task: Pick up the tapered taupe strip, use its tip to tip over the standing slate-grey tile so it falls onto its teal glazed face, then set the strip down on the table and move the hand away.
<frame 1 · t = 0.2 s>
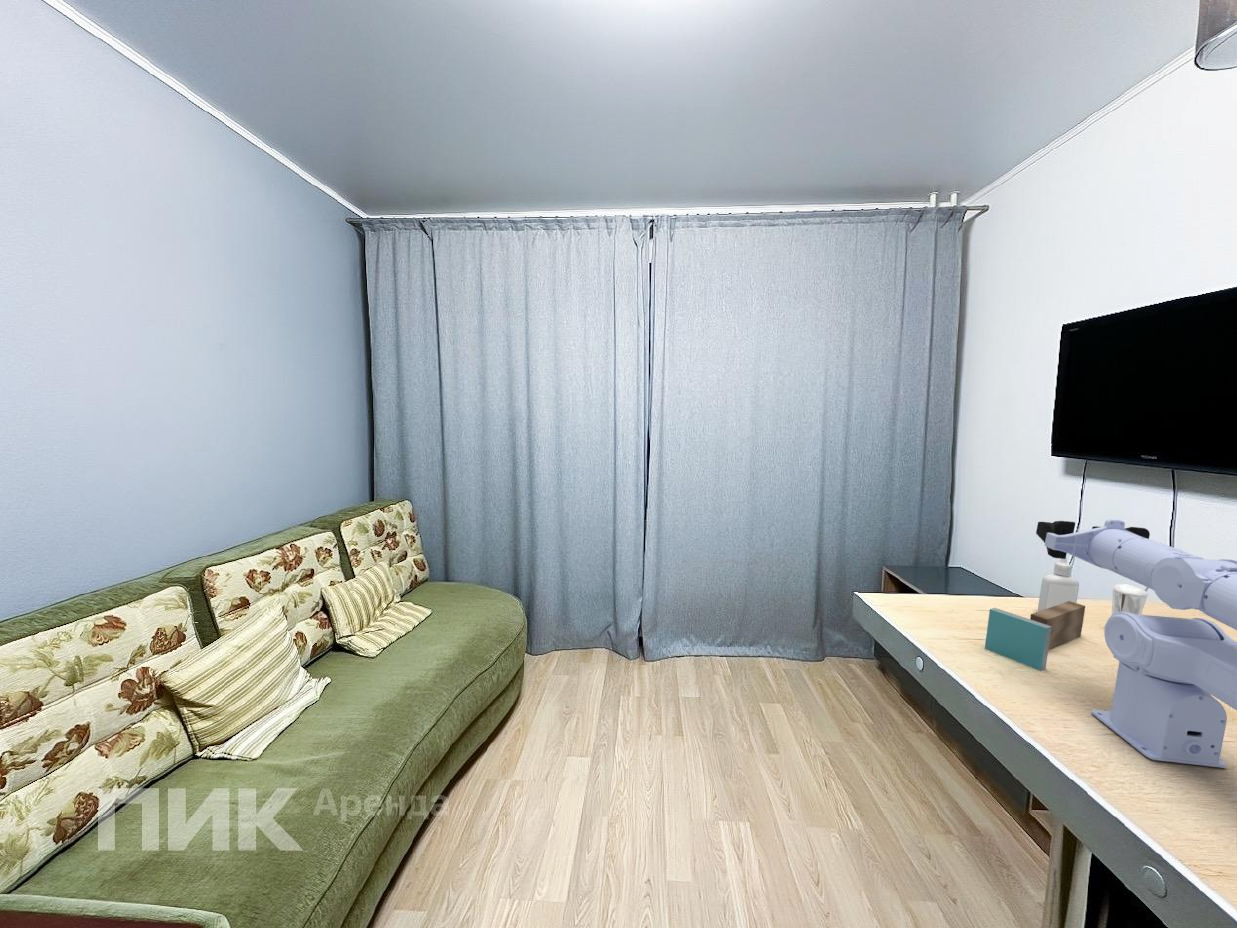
hand: (1066, 530, 82), 22 cm above the table, tool horizontal, fingers open, 7 cm apart
eye dropper bottle: (1055, 617, 103), on the table
tile: (1014, 658, 85), on the table
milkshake: (1125, 634, 96), on the table
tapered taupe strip: (1054, 642, 92), on the table
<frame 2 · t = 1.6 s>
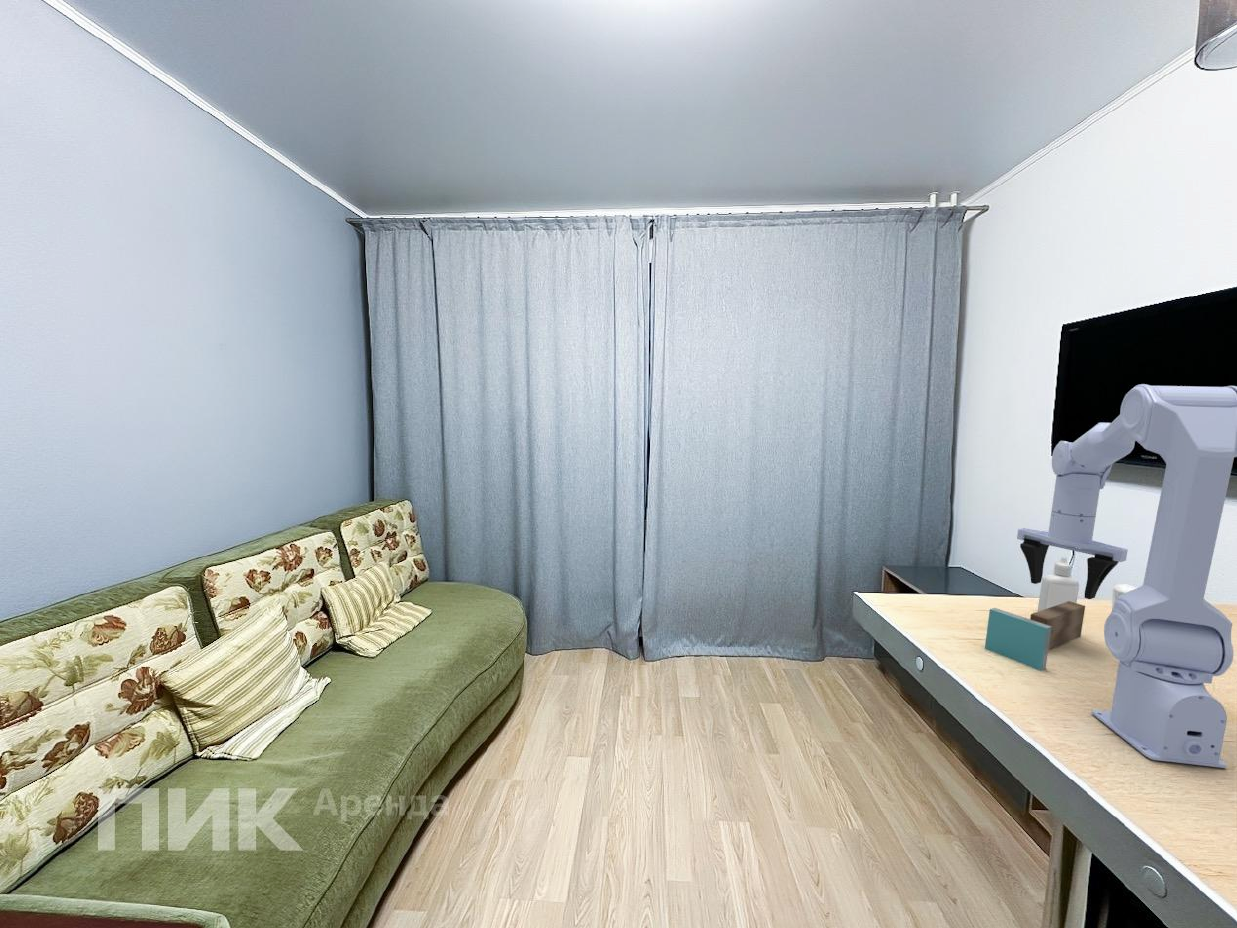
hand: (1061, 589, 90), 9 cm above the table, tool pointing down, fingers open, 7 cm apart
nothing on the table moved.
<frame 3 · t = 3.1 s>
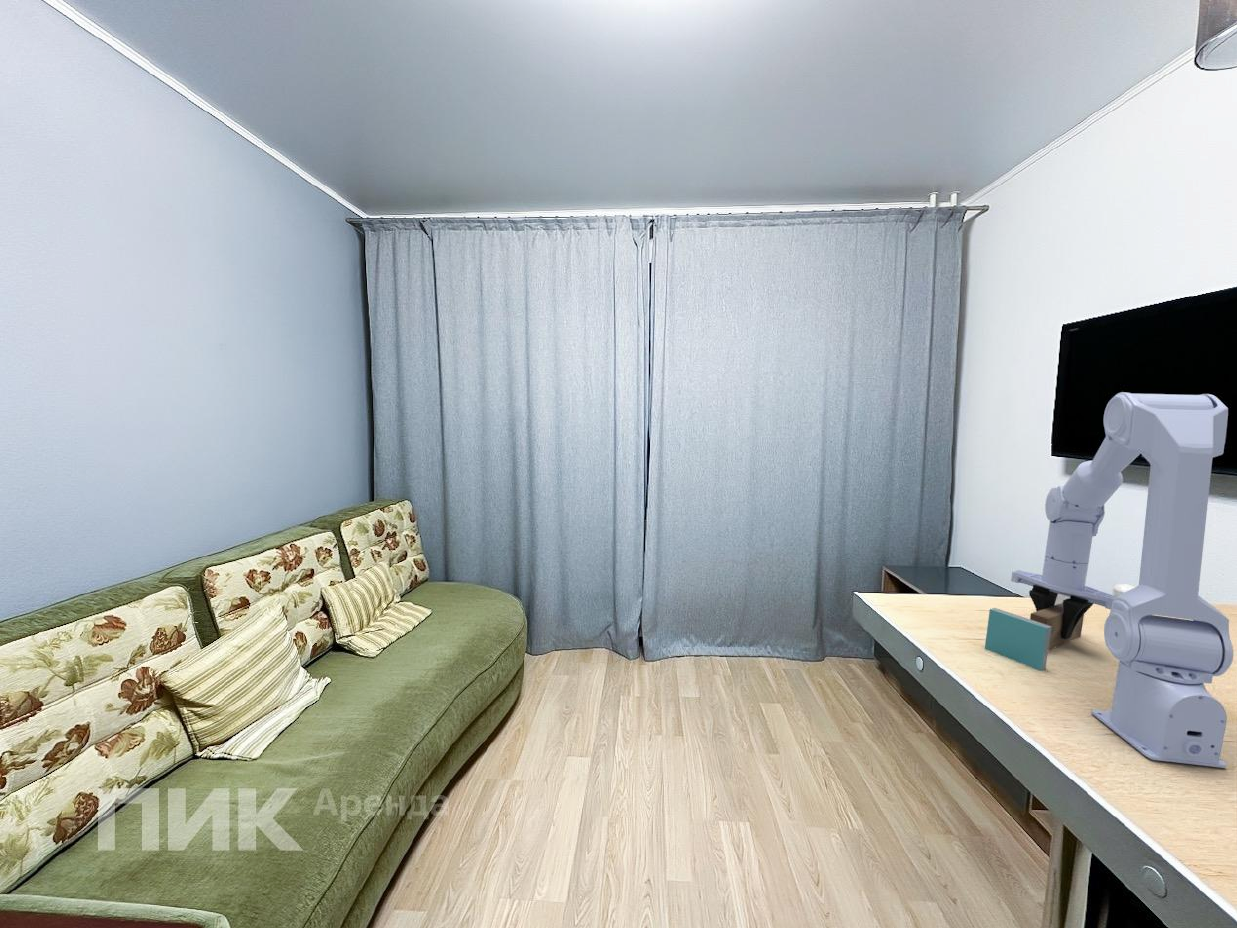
hand: (1055, 633, 91), 1 cm above the table, tool pointing down, fingers closed on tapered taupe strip, 2 cm apart
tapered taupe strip: (1054, 641, 92), on the table, touching gripper
everything else where it was.
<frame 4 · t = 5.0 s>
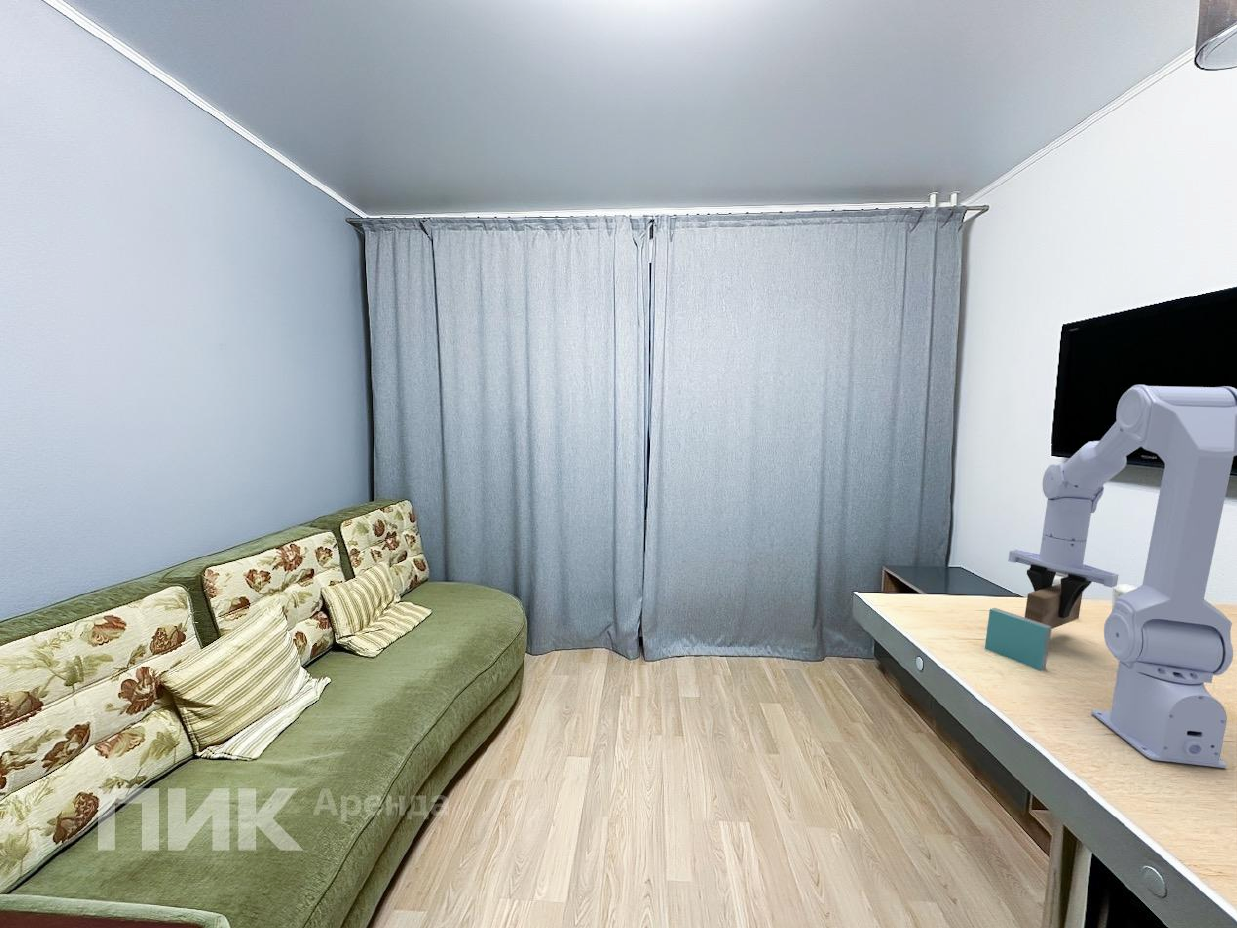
hand: (1053, 613, 90), 6 cm above the table, tool pointing down, fingers closed on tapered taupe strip, 2 cm apart
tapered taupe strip: (1051, 623, 90), point 4 cm above the table, touching gripper
everything else where it was.
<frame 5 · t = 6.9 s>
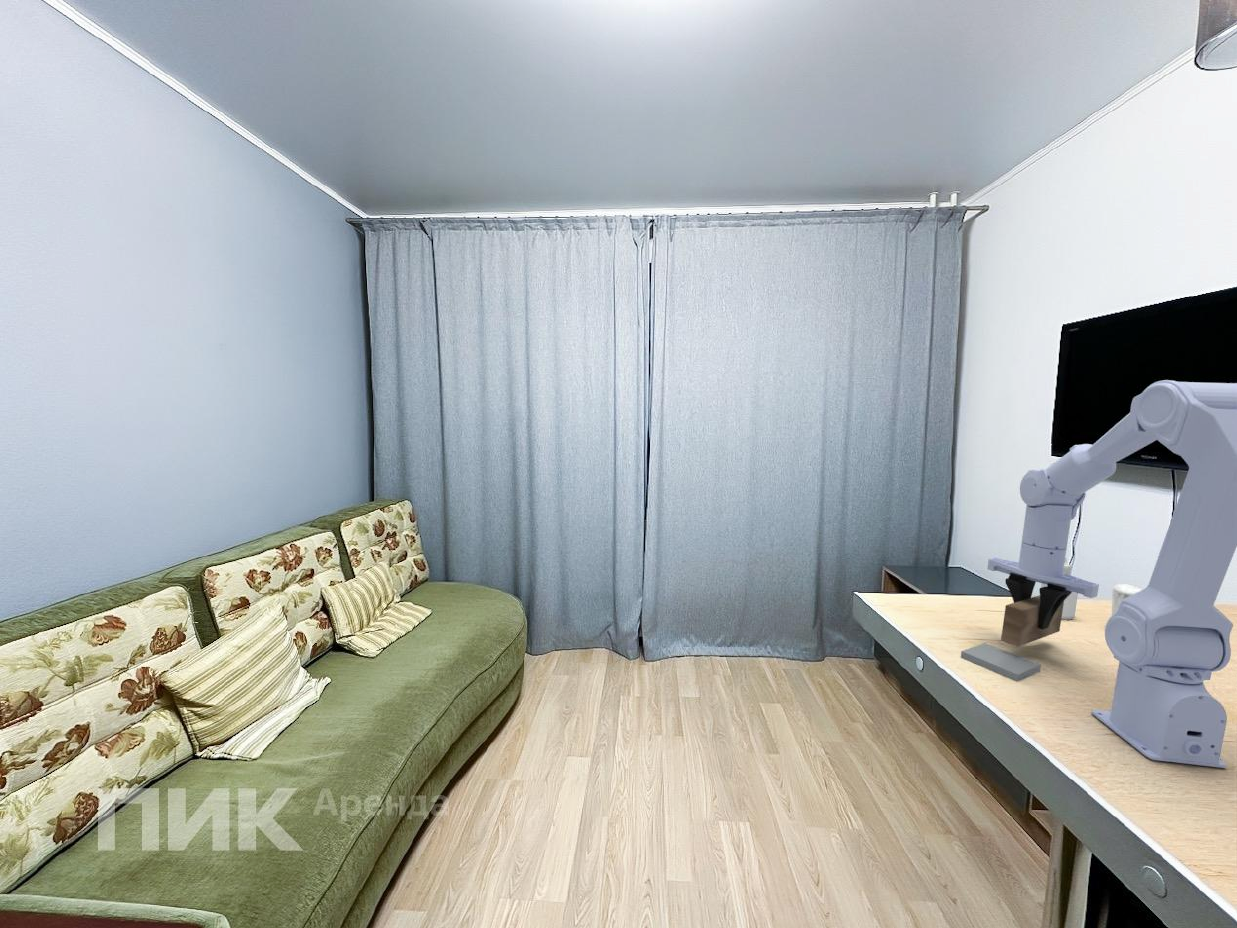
hand: (1032, 624, 87), 5 cm above the table, tool pointing down, fingers closed on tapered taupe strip, 2 cm apart
tile: (1011, 657, 85), on the table, tilted 90°
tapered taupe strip: (1030, 635, 87), point 3 cm above the table, touching gripper
everything else where it was.
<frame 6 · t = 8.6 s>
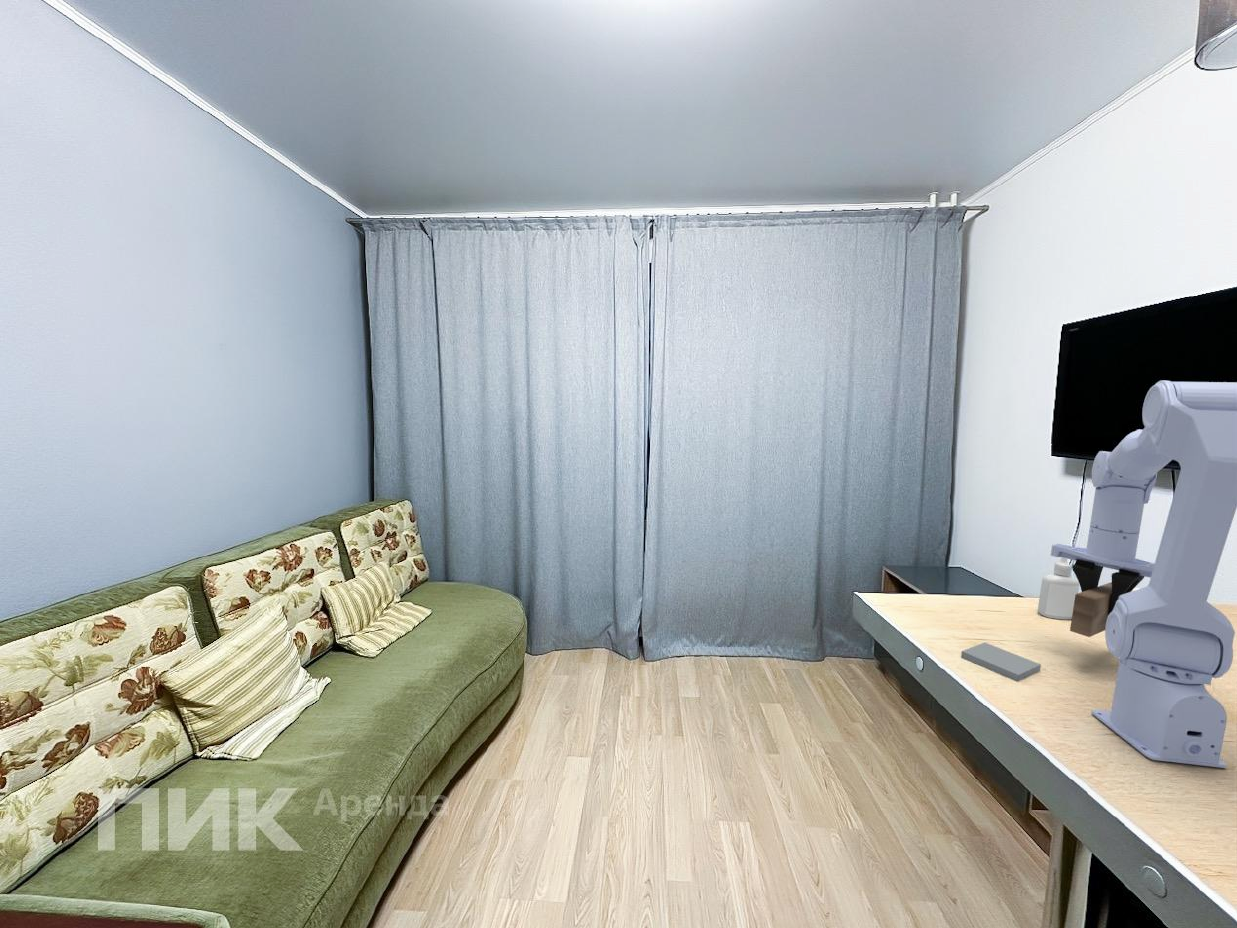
hand: (1101, 611, 84), 8 cm above the table, tool pointing down, fingers closed on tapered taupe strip, 2 cm apart
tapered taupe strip: (1098, 625, 84), point 6 cm above the table, touching gripper
everything else where it was.
when the fingers open (2 cm above the table, at t = 10.2 s): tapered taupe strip stays where it is, on the table.
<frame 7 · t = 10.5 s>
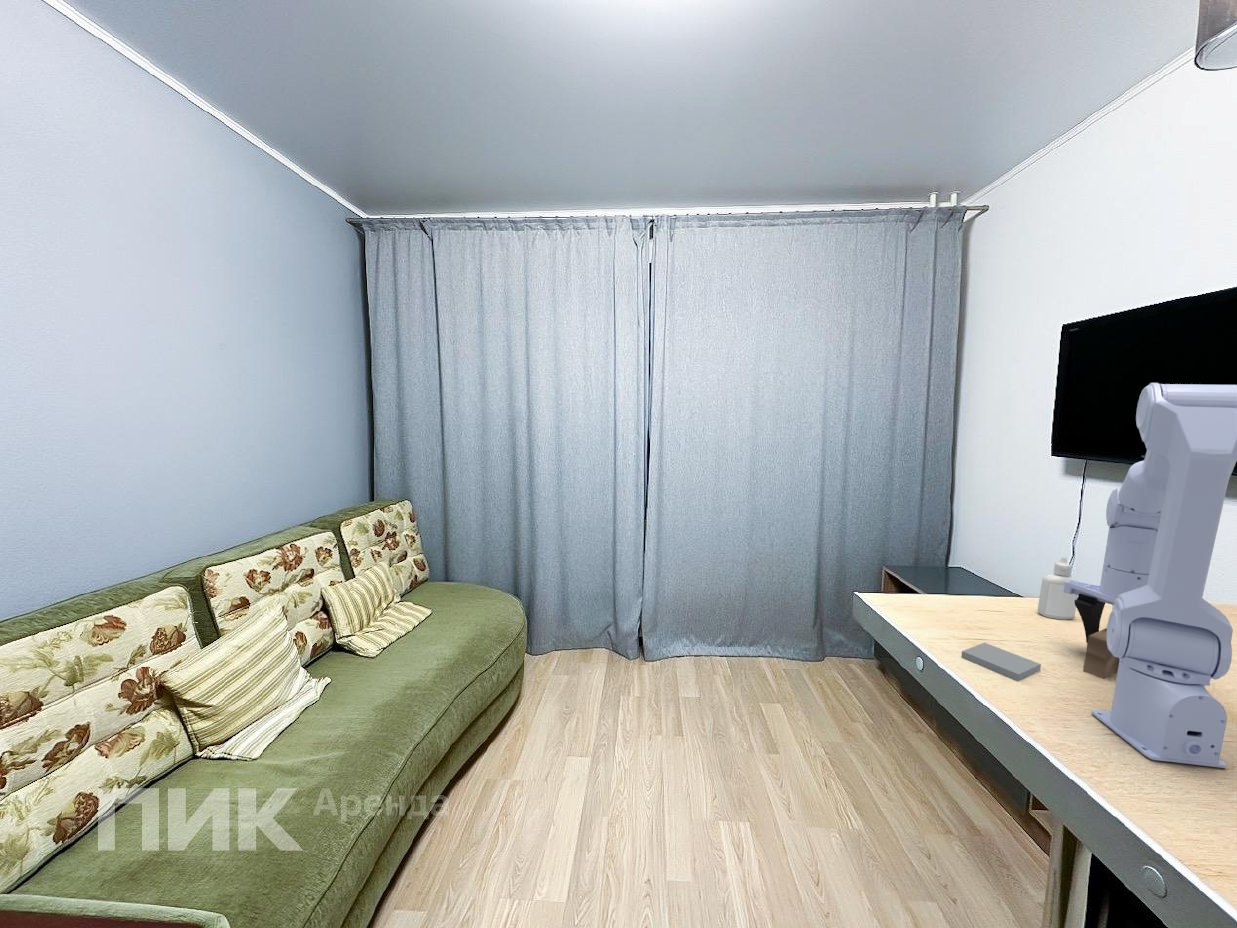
hand: (1114, 650, 84), 2 cm above the table, tool pointing down, fingers open, 5 cm apart
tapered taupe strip: (1111, 665, 84), on the table
everything else where it was.
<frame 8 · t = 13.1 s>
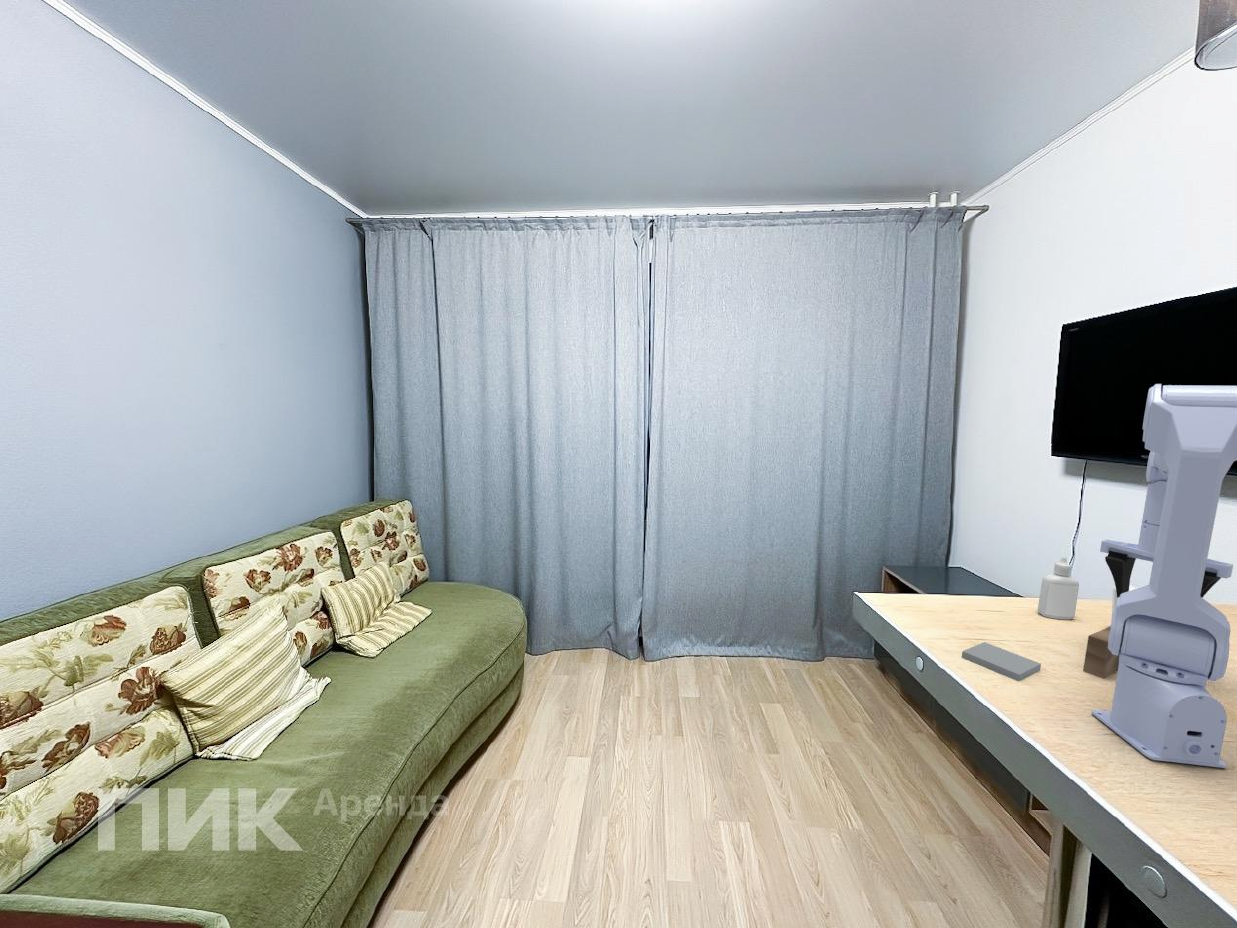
hand: (1153, 607, 84), 9 cm above the table, tool pointing down, fingers open, 7 cm apart
nothing on the table moved.
at the end: tile tilted 90°; tile inside the target area (0.9 cm from its centre), on the table; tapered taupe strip inside the target area (0.1 cm from its centre), on the table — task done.
